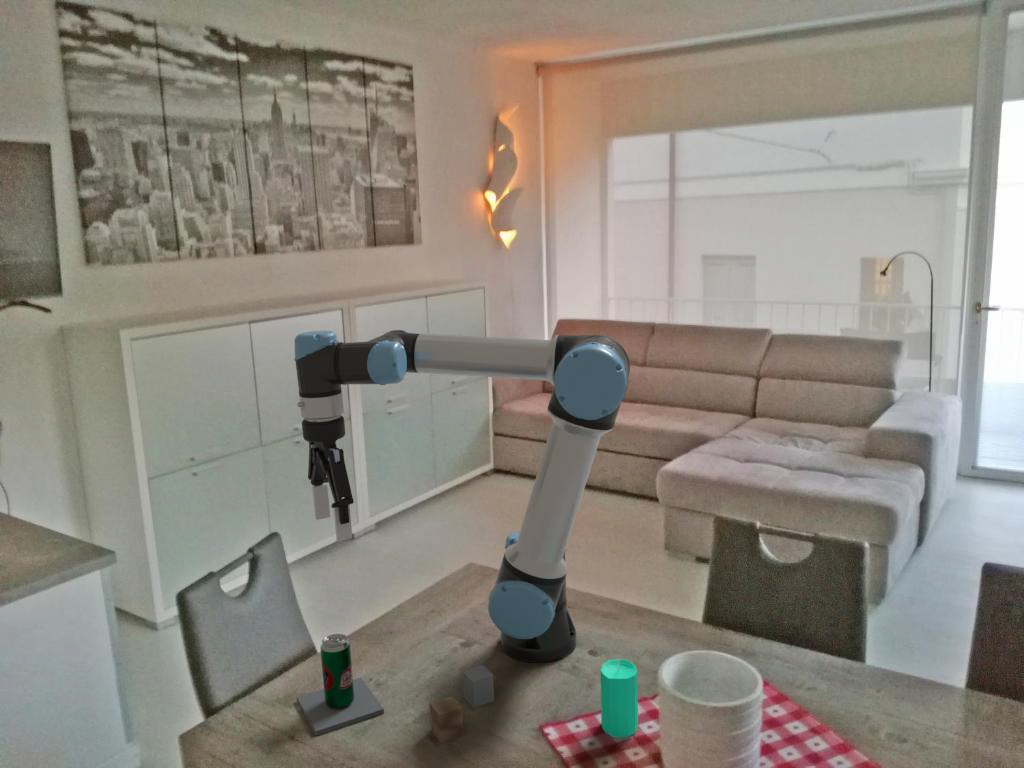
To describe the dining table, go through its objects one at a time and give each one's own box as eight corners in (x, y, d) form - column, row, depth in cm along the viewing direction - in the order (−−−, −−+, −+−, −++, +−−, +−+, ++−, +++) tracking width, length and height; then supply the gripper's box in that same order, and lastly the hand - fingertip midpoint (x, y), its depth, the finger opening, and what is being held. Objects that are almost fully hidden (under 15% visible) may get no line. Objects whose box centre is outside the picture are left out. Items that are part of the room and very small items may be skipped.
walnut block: (453, 722, 139) (451, 696, 138) (463, 735, 136) (461, 707, 135) (431, 730, 137) (429, 703, 136) (441, 743, 134) (439, 715, 133)
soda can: (348, 711, 142) (342, 647, 140) (320, 709, 143) (315, 646, 141) (358, 695, 147) (353, 633, 145) (332, 693, 148) (326, 631, 146)
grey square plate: (361, 681, 153) (360, 677, 153) (384, 712, 143) (383, 708, 143) (297, 701, 147) (296, 697, 147) (316, 735, 137) (315, 731, 137)
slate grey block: (483, 690, 149) (482, 665, 148) (494, 700, 145) (493, 675, 144) (464, 697, 147) (462, 671, 146) (474, 707, 143) (472, 681, 142)
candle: (614, 711, 141) (613, 647, 138) (644, 724, 137) (644, 658, 135) (594, 729, 136) (593, 662, 134) (625, 742, 132) (624, 674, 130)
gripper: (285, 408, 158) (296, 513, 162) (321, 433, 136) (333, 554, 140) (323, 402, 161) (333, 506, 165) (365, 426, 140) (375, 544, 144)
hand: (333, 528), depth 153 cm, fingers open, 13 cm apart
